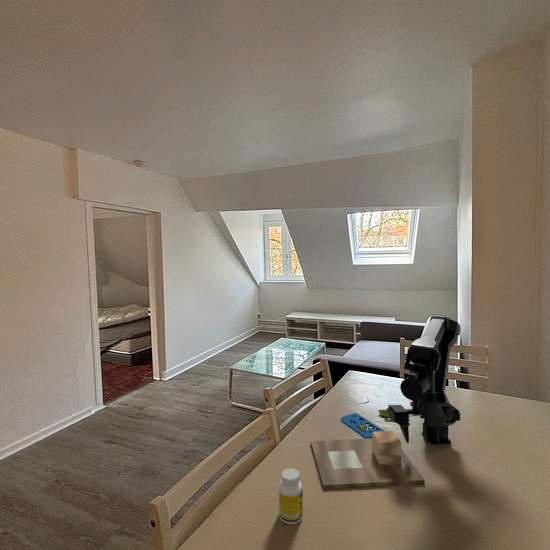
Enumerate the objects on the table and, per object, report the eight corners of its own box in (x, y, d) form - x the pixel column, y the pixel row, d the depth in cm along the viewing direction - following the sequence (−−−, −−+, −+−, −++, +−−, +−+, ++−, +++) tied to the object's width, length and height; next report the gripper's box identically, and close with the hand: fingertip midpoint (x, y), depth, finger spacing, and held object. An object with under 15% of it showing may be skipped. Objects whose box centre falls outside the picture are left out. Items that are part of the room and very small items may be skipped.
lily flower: (416, 425, 114) (416, 412, 113) (382, 425, 114) (382, 412, 114) (404, 409, 126) (404, 397, 125) (372, 409, 126) (372, 397, 126)
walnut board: (392, 440, 104) (392, 437, 103) (424, 483, 84) (424, 479, 84) (311, 444, 102) (311, 441, 102) (323, 488, 82) (323, 485, 82)
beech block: (392, 450, 96) (392, 430, 96) (401, 463, 90) (401, 442, 90) (372, 451, 96) (372, 431, 96) (379, 464, 90) (379, 443, 90)
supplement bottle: (304, 524, 71) (304, 481, 71) (280, 526, 71) (279, 482, 71) (300, 505, 77) (300, 465, 76) (277, 507, 76) (277, 467, 76)
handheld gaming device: (356, 411, 122) (386, 430, 108) (356, 414, 122) (386, 433, 108) (338, 416, 118) (366, 436, 105) (338, 419, 118) (366, 440, 105)
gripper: (403, 401, 84) (403, 460, 85) (473, 399, 85) (473, 457, 86) (386, 385, 95) (386, 437, 96) (449, 382, 96) (448, 434, 97)
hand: (422, 441), depth 94 cm, fingers open, 9 cm apart
